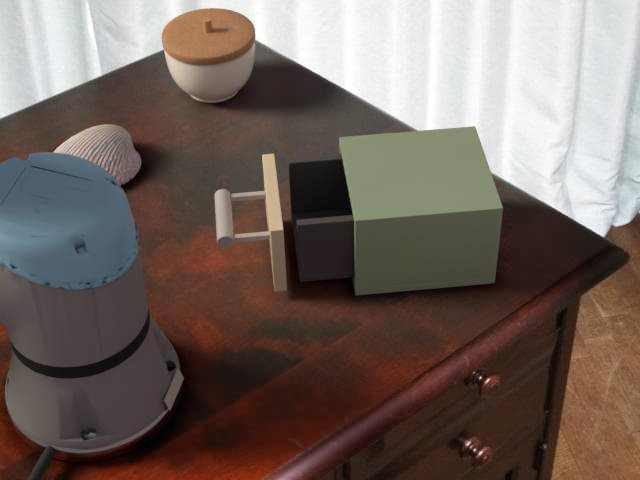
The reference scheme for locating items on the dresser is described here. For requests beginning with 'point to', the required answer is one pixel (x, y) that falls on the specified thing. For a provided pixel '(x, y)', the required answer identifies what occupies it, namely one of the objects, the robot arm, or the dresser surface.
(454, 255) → the cabinet
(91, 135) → the seashell
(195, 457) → the dresser surface
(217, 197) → the drawer
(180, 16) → the trinket box
